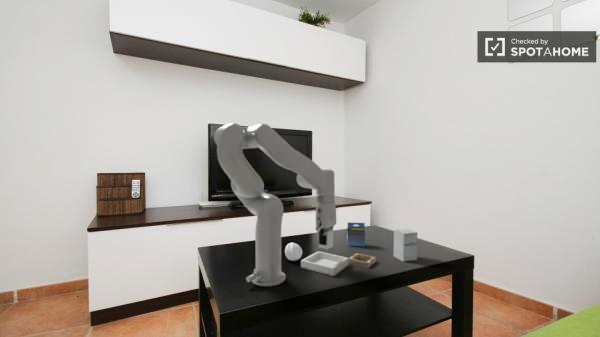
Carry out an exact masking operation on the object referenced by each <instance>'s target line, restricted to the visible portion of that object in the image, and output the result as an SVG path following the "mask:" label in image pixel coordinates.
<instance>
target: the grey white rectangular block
mask: <svg viewBox="0 0 600 337" xmlns="http://www.w3.org/2000/svg"><path fill="white" fill-rule="evenodd" d="M321 230H322V231H323V229H321ZM317 235H318V234H317ZM325 235H326V245H321V244H319V235H318V240H317V242H318V244H317V245H318V250H319V251H321V252H326V253H328V252H330V251H332V250H334V227H330V228H327V229H326V233H325Z"/></svg>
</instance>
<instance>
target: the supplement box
mask: <svg viewBox="0 0 600 337" xmlns="http://www.w3.org/2000/svg"><path fill="white" fill-rule="evenodd" d="M393 257H394V258H396V259H398V261H399V260H400V261H401V262H408V261H417V260H418V231H415V230H412V229H409V228H401V229H393Z"/></svg>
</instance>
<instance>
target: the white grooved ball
mask: <svg viewBox="0 0 600 337" xmlns="http://www.w3.org/2000/svg"><path fill="white" fill-rule="evenodd" d="M284 254H285V258H286V259H288V260H289V261H292V262H296V261H298V260H299V259H301V257H302V255H303V249H302V247H301V246H300V245H299V244H298V243H295V242H290V243H287V245H285V249H284Z"/></svg>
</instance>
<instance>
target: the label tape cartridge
mask: <svg viewBox="0 0 600 337" xmlns="http://www.w3.org/2000/svg"><path fill="white" fill-rule="evenodd" d="M365 224H366V223H365V222H347V228H346V244H347V247H366V230H365V229H366V227H365V226H366V225H365Z"/></svg>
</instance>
